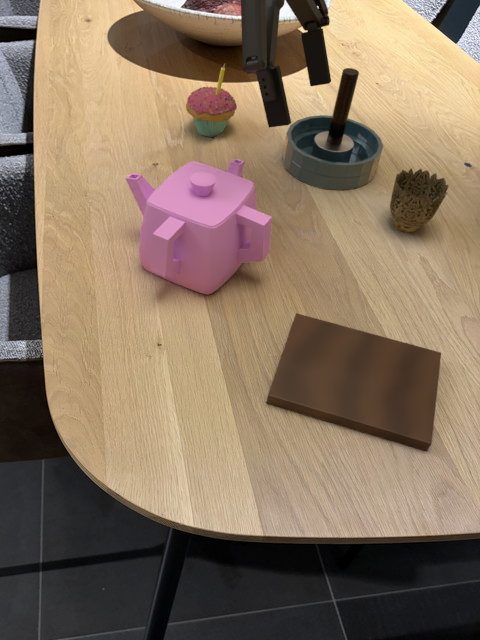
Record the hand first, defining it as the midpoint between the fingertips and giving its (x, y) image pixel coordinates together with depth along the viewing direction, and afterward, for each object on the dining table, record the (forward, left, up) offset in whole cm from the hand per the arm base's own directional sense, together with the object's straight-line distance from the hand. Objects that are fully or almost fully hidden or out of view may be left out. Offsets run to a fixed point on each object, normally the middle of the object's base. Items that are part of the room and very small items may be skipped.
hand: (301, 103), depth 77 cm
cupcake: (+18, -21, -18) cm, 33 cm away
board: (-16, +27, -18) cm, 36 cm away
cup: (-18, -5, -18) cm, 26 cm away
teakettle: (+9, +12, -18) cm, 24 cm away
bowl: (-4, -18, -18) cm, 25 cm away
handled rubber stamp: (-4, -18, -17) cm, 25 cm away
